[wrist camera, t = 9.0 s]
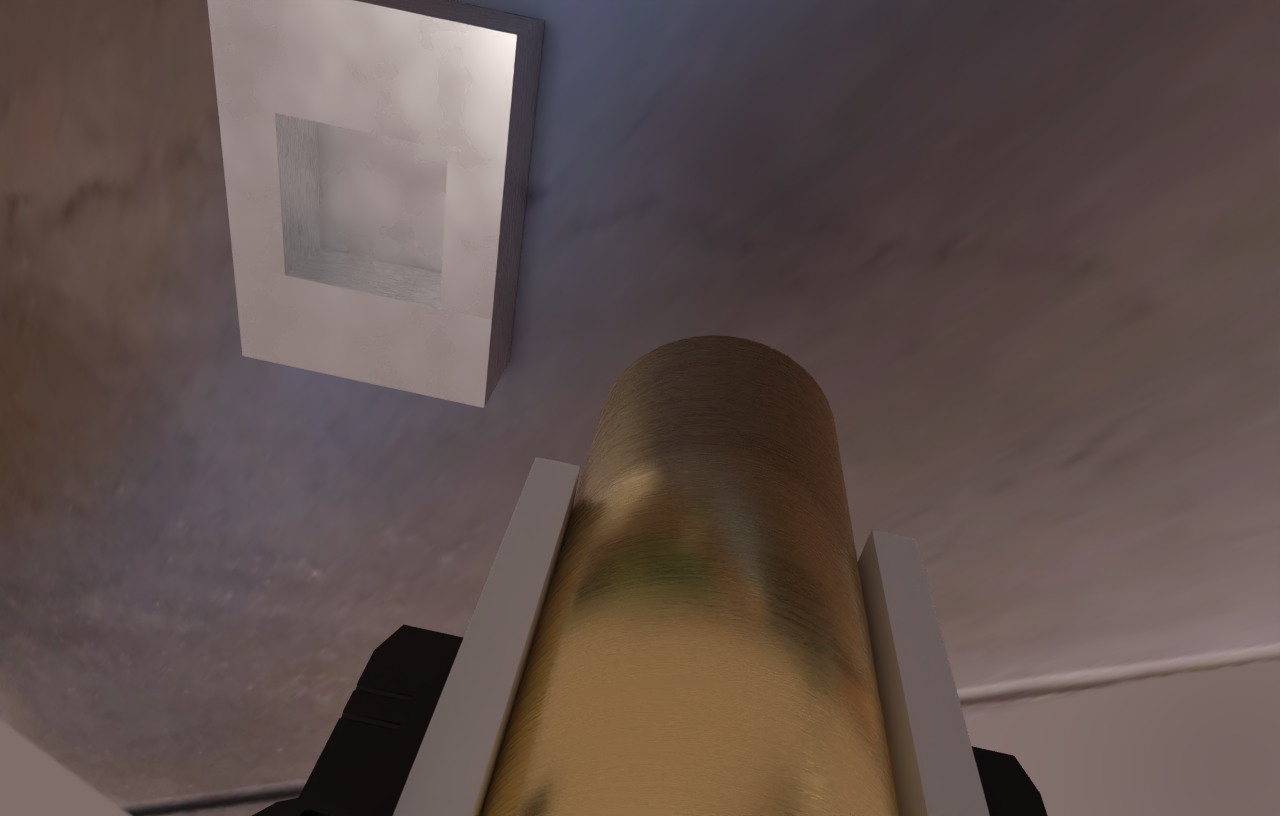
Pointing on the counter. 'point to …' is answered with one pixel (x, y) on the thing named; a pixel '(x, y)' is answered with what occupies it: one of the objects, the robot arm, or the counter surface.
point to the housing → (377, 184)
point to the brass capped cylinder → (703, 610)
